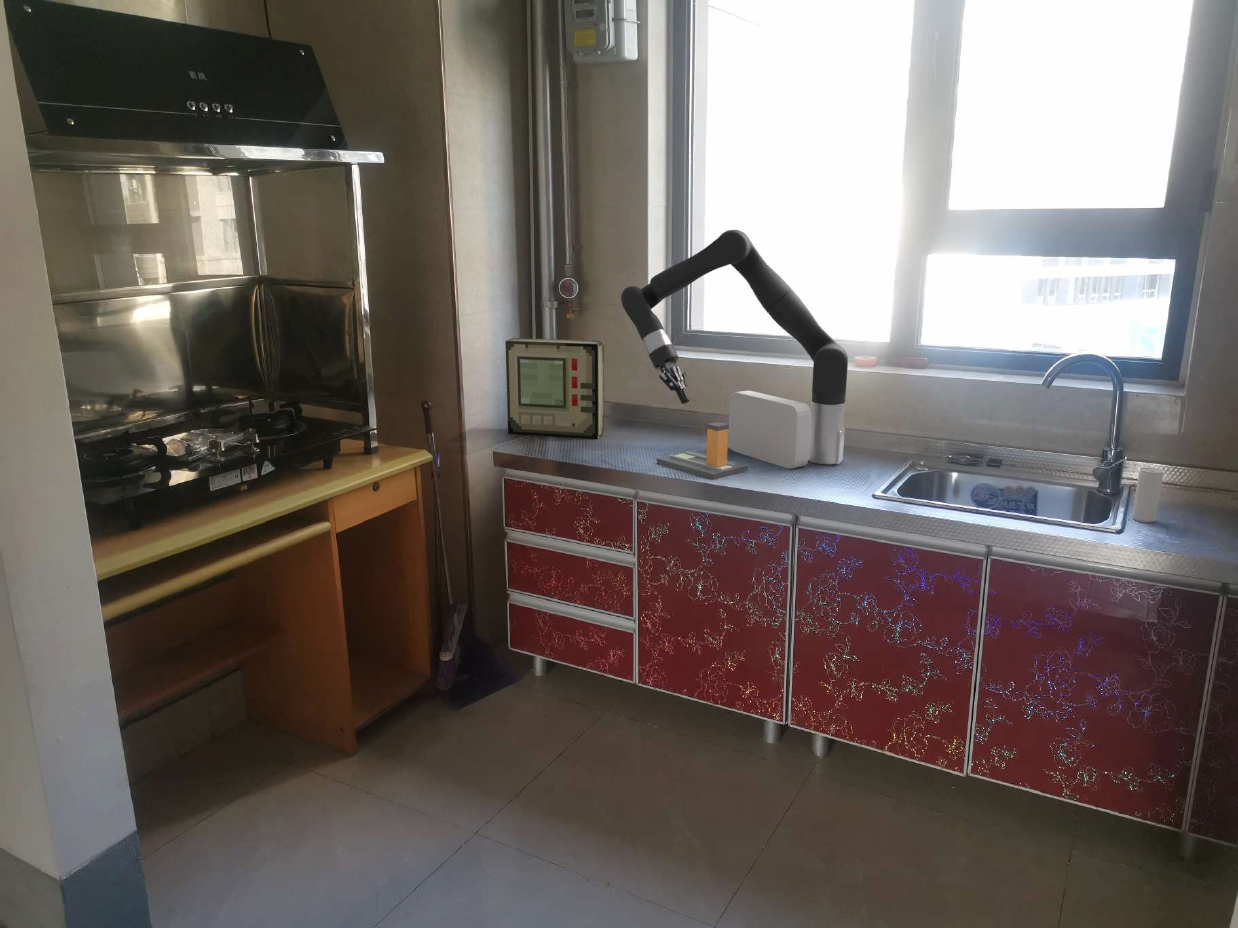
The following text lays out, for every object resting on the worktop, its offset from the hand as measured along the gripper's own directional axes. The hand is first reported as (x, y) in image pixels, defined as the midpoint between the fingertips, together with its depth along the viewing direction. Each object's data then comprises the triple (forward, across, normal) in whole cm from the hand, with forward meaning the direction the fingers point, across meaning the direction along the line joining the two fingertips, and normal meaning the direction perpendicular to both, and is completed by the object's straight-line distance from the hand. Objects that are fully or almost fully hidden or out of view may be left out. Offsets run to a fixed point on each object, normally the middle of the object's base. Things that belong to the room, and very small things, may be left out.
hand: (686, 402), depth 257 cm
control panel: (-16, +10, +51) cm, 54 cm away
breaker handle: (+20, -3, -1) cm, 20 cm away
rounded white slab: (+23, +18, -7) cm, 30 cm away
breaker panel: (+18, -1, +4) cm, 19 cm away
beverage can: (+78, +12, -85) cm, 117 cm away
